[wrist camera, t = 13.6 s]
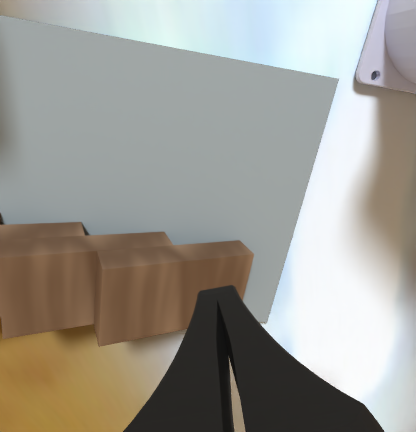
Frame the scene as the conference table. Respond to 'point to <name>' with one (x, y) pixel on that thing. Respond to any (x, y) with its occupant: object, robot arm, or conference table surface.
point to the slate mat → (157, 142)
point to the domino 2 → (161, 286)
